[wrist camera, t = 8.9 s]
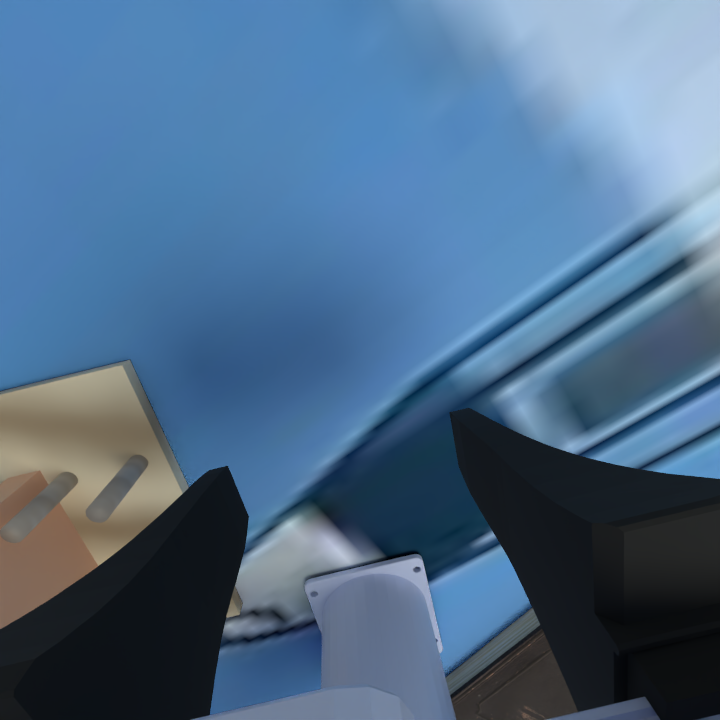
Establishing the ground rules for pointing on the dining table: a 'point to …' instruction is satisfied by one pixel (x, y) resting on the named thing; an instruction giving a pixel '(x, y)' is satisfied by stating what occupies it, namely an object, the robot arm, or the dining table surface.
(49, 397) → the dish rack
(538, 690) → the hardcover book
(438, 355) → the dining table surface
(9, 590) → the brown rectangular block
